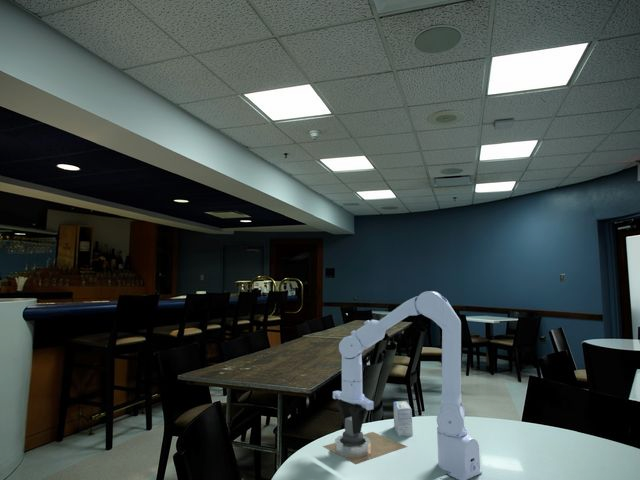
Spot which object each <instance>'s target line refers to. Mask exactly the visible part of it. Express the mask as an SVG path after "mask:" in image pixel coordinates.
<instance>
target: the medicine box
mask: <svg viewBox="0 0 640 480" xmlns="http://www.w3.org/2000/svg"><path fill="white" fill-rule="evenodd" d="M412 410H413V409H412V408H411V406H410V405H409V403H408V402H407V401H403V400H402V401H400V400H399V401H393V428H394V429H395V431H396V434H397V435H398V437H413V436H414V434H413V433H414V432H413V431H414V430H413V413H412V412H413V411H412Z"/></svg>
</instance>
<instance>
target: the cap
mask: <svg viewBox="0 0 640 480" xmlns="http://www.w3.org/2000/svg"><path fill="white" fill-rule="evenodd" d="M342 435H343V441H344V442H346V443H352V444H356V443H360V442H362V441H363V435H364V432H362V431H361V432H360V433H358V434H354V433H353V425H352V417H348V418H345V428H344V431H343V432H342Z"/></svg>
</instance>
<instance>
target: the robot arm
mask: <svg viewBox="0 0 640 480" xmlns="http://www.w3.org/2000/svg"><path fill="white" fill-rule="evenodd" d="M418 315H423V316H424V317H426V318H428V319H430V320H432V321H433V322H434V323H436V325H437V326H439V327H440V328H441V330H442V331H441V332H442V333H441V334H442V336H441V338H442V339H441V340H442V341H441V395H440V396H441V397H440V399H441V400H440V407H439V411H438V413H437V416H436V424H437V427H436V431H437V432H436V435H437V437H436V438H437V462H438V464H437V465H438V467H439V468H440V469H441V470H444V471H446V472H447V473H446V475H448V476H450V477H452V478H454V479H456V480H469V479H472V478H473V477H476V476H477V475H480V474H482V473H483V470H482V469H481V461H480V457H481V456H480V445H479V442H478V440H477V439H475V438H473V437H471V435H469V434H468V429H467V428H466V427H465V417H466V410H465V407H464V405H463V402H462V392H461V391H462V374H461V373H462V367H461V366H462V321H461V319H460V317H459V316H458V315H457V313H456V312H455V310H454V308H453V307H452V305H451V304H450V302H449V301H448V299H447V298H446V297H444V296H443V295H442V294H441V293H439V292H437V291H435V290H430V291H428V290H426V291H423V292H421V293H420V294H419V295H418V296H414V297H412V298H410V299H408V300H406V301H405V302H403V303H401V304H400V305H399V306H397V307H396V308H394V309H393V310H392V311H391V312H389V313H388V314H386V315H384V317H382V318H381V319H379V320H377V319H370V320H369V319H368V320H366V321H364V322H363V324H364V325H362V326H360V327H359V328H358V329H356V330H352V331H351V332H350V335H348V336H344V337H342V339H341V340H340V342H339V344H338V351H339V353H340V355H341V390H334V391H332V399H334V400H339V402H337V403H336V408H337V409H338V412H339V413H340V417H341V420H342V424H343V428H344V429H345V418H348V417H352V425H353V433H354V434H358V433H360V432H362V427H363V422H364V419H365V417H366V415H367V413H368V411H371V410H375V409H374V406H375V405H374V404H375V402H374V400H370V399H369V398H367V397H366V396H365V394H364V393H363V359H362V358H363V357H362V353H364V351H365V350H367V349H369V348H371V347H372V346H373V345H375V344H377V343H379V341H381V340H383V339H384V338H385V335H386V331H387V330H389V329H390V328H392V327H393V326H394V325H397V324H398V323H399V322H401V321H403V320H404V319H406V318H408V317H409V316H418Z"/></svg>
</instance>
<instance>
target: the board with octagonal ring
mask: <svg viewBox="0 0 640 480" xmlns="http://www.w3.org/2000/svg"><path fill="white" fill-rule="evenodd" d="M322 447H323V448H325V449H327V450H329V451H330V452H333V453H334V454H336V455H338V456H339V457H341V458H343V459H345V460H347V461H348V462H351V463H352V464H353V465H357V464H361V463H363V462H366V461H369V460H373V459H376V458H379V457H381V456H384V455H388V454H390V453H393V452H396V451H399V450H401V449H405V448H408V446H407V445H405V444H402V443H401V442H398V441H395V440H393V439H391V438H388V437H386V436H384V435H381V434H379V433H376V432H374V431H372V432H368V433H363V441H362V442H360V443H356V444H352V443H346V442H344V441H343V434H342V435H339V436H337V437H336V438H335V439H334V442H333V443H330V444H326V445H323V446H322Z"/></svg>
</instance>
